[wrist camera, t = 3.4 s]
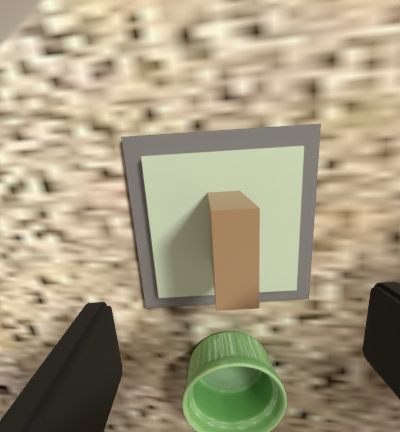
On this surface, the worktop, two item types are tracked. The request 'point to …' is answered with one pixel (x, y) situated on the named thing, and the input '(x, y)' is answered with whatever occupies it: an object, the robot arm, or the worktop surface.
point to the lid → (225, 223)
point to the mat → (211, 143)
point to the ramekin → (232, 386)
